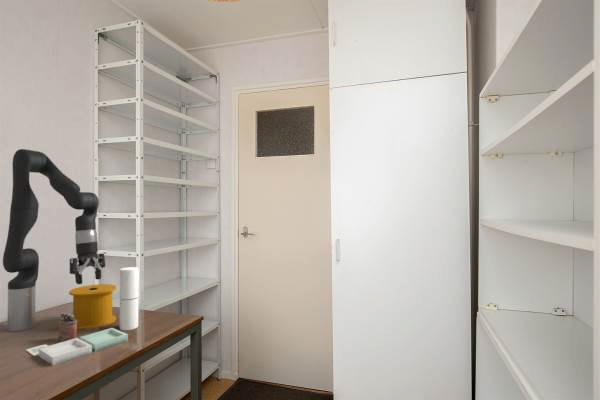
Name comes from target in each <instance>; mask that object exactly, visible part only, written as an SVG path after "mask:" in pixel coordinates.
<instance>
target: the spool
mask: <svg viewBox="0 0 600 400" xmlns="http://www.w3.org/2000/svg"><path fill="white" fill-rule="evenodd" d="M116 290H117V285H114V284H106V283H105V284H91V285H90V284H89V285H83V286H79V287H75V288H72V289H70V290H69V292H68V295H70V296H72V297H73V298H72V299H73V301H72V304H73V305H72V315H74V320H77V330H91V329H98V328H101V327H102V328H103V327H105V326H108V325H111V324H113V323H114V322H116V320H117V316H116V315H114V314H113V291H114V292H115V291H116Z"/></svg>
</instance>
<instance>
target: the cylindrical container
mask: <svg viewBox="0 0 600 400" xmlns="http://www.w3.org/2000/svg"><path fill="white" fill-rule="evenodd" d="M139 277H140V274H139V267H137V266H127V267H122V268H119V331H130V330H135V329H137V328H138V327H139V283H140V282H139V279H140V278H139Z"/></svg>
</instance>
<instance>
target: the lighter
mask: <svg viewBox="0 0 600 400" xmlns="http://www.w3.org/2000/svg"><path fill="white" fill-rule="evenodd" d="M77 330H78V329H77V320H74V315H73V313H65V312H62V313H60V319H59V320H58V338H57V339H58V341H60V342H64V341H68V340H71V339H75V338H78V337H77V334H78V333H77V332H78V331H77Z"/></svg>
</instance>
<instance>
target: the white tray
mask: <svg viewBox="0 0 600 400" xmlns="http://www.w3.org/2000/svg"><path fill="white" fill-rule="evenodd" d="M92 353H93V350H92V345H90V344H88V343H86V342H84V341H82V340H80V338H78V337H77V338H75V339H71V340H68V341H60V342H58V343H54V344H51V345H48V346H47V347H43V348H40V349H39V355H38V357H39V358H41V360H43V361H45V362H46V363H48V364H50V366H55V365H58V364H62V363H64V362H68V361H70V360H73V359H77V358H79V357H83V356H86V355H88V354H92Z"/></svg>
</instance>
